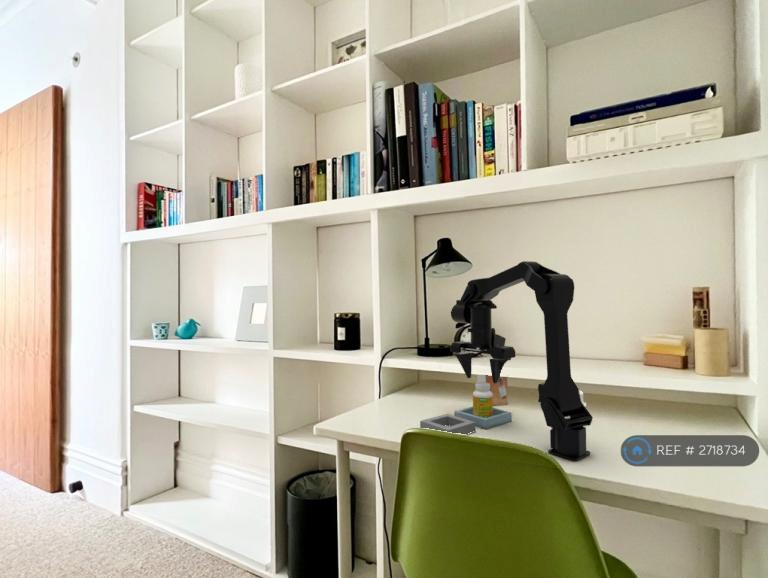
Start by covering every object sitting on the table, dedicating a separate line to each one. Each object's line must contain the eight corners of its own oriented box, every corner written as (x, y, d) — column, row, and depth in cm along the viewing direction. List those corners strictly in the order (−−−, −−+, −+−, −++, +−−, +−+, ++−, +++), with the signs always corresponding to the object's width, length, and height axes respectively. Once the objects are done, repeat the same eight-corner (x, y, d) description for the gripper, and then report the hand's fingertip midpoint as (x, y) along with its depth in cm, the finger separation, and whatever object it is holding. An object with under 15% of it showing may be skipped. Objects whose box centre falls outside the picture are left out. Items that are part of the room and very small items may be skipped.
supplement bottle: (477, 422, 116) (477, 386, 116) (470, 416, 121) (469, 382, 121) (496, 420, 117) (495, 385, 117) (487, 415, 122) (487, 381, 122)
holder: (475, 431, 110) (475, 422, 110) (448, 440, 104) (448, 430, 104) (447, 422, 118) (447, 413, 118) (420, 430, 112) (420, 420, 112)
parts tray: (511, 421, 118) (511, 412, 118) (485, 429, 112) (485, 419, 112) (480, 412, 127) (480, 404, 127) (454, 420, 120) (454, 411, 120)
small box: (485, 406, 134) (485, 373, 134) (477, 402, 139) (476, 370, 139) (508, 404, 136) (507, 371, 136) (499, 400, 141) (498, 368, 142)
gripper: (527, 324, 117) (528, 381, 117) (474, 321, 132) (474, 372, 132) (501, 327, 110) (502, 388, 110) (448, 323, 125) (449, 377, 125)
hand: (481, 380), depth 120 cm, fingers open, 9 cm apart
